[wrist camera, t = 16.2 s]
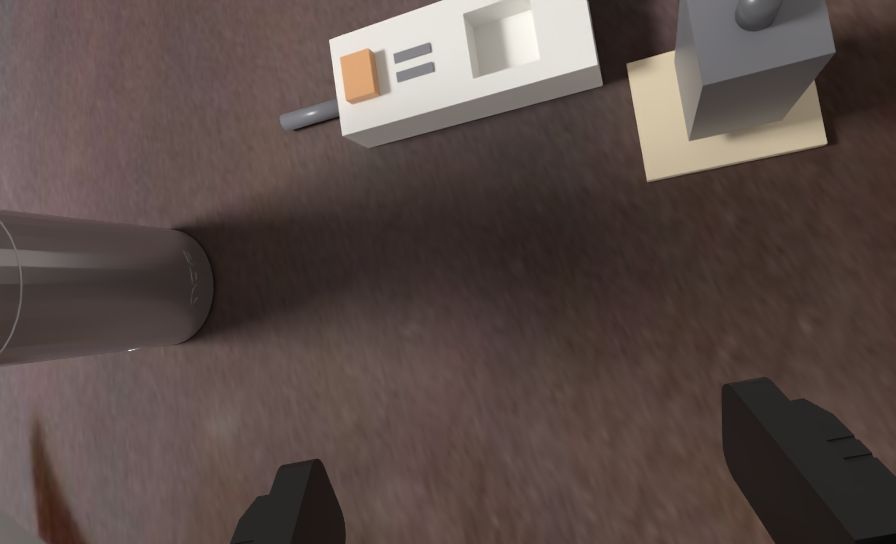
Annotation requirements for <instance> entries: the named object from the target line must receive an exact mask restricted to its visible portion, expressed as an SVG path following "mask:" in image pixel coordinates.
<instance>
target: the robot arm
mask: <svg viewBox="0 0 896 544" xmlns="http://www.w3.org/2000/svg"><path fill="white" fill-rule="evenodd" d="M213 291H214V287H213V275H212V270H211V265H210V263H209V260H208V258H207V255H206V254H205V252H204V250H203V249H202V247H201V246H200V245H199V244H198V243H197V242H196V241H195V240H194V239H193V238H192V237H191V236H189V235H187V234H186V233H184V232H181V231H177V230H173V229H164V228H155V227H147V226H138V225H131V224H122V223H113V222H105V221H96V220H87V219H78V218H70V217H61V216H52V215H43V214H34V213H26V212H17V211H8V210H0V367H1V366H9V365H17V364H25V363H33V362H41V361H49V360H57V359H65V358H73V357H81V356H89V355H97V354H105V353H112V352H120V351H130V350H138V349H145V348H153V347H160V346H168V345H175V344H179V343H182V342H184V341H186V340H188V339H189V338H190V337H192V336H193V335H194V334H196V332H197V331H198V330H199V329H200V328H201V326H202V325H203V323H204V322H205V320H206V318H207V316H208V314H209V311H210V307H211V304H212V299H213ZM722 440H723V451H724V456H725V460H726V463H727V466H728V468H729V470H730V473H731V475H732V477H733V478H734V480H735V482H736V483H737V485H738V486H739V488H740V489H741V491H742V493H743V494H744V496H745V497H746V499H747V500H748V502H749V503H750V505H751V506H752V508H753V510H754V511H755V513H756V514H757V516H758V517H759V519H760V520H761V522H762V524H763V525H764V527H765V528H766V530H767V531H768V533H769V534H770V536H771V537H772V539H773V541H774V542H775V544H896V476H895V475H894V474H893V473H892V472H891V471H890V470H889V469H888V468H887V467H886V466H885V465H884V464H883V463H882V462H881V461H880V460H879V459H878V458H877V457H876V458H874V457H873V455H872V452H871V451H870V450H869V449H868V448H867V447H866V446H865V445H864V444H863V443H862V442H861V441H860V440H859V439H858V440H856V439H855V437H854V434H853V433H852V432H851V431H850V430H849V429H848V428H847V427H846V426H845V425H844V424H843V423H842V422H841V421H840V420H839V419H838V418H837V417H836V416H835V415H834V414H832V413H830V412H828V411H826V410H824V409H823V408H821V407H819V406H817V405H815V404H813V403H811V402H810V401H808V400H806V399H804V398H803V399H798V400H792V401H790V400H789V399H788V398H787V397H786V396H785V395H784V394H783V393H782V392H781V391H780V389H779V388H778V387H777V386H776V385H775V384H774V383H773V382H772V381H771V380H770V379H768V378H766V377H761V378H755V379H750V380H745V381H739V382H734V383H728V384H725V385H724V386H723V388H722ZM345 540H346V532H345V522H344V517H343V513H342V510H341V508H340V505H339V503H338V500H337V498H336V495H335V493H334V490H333V488H332V485H331V483H330V480H329V478H328V475H327V473H326V470H325V468H324V465H323V463H322V462H321V461H320V460H319V459H313V460H307V461H302V462H297V463H291V464H286V465H282V466H281V467H280V468H279V469H278V471H277V474H276V477H275V480H274V483H273V486H272V488H271V491H270V494H269V495H264V496H259V497H257V498H256V499H255V501H254V502H253V503H252V504H251V506H250V507H249V508H248V509H247V511H246V512H245V513H244V514H243V516H242V517H241V518H240V519H239V522H238V524H237V527H236V530H235V532H234V535H233V537H232V540H231V543H230V544H345Z"/></svg>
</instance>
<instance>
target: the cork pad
mask: <svg viewBox="0 0 896 544" xmlns="http://www.w3.org/2000/svg"><path fill="white" fill-rule="evenodd" d="M674 58H675V51H671V52H668V53H664V54H660V55H657V56H653V57H649V58H646V59H642V60H638V61H635V62H631V63H628V64H627V71H628V76H629V82H630V88H631V93H632V99H633V105H634V110H635V116H636V121H637V127H638V133H639V138H640V144H641V150H642V155H643V161H644V167H645V172H646V178H647V182H652V181H657V180H662V179H666V178H671V177H676V176H681V175H686V174H691V173H696V172H700V171H705V170H710V169H715V168H720V167H725V166H730V165H734V164H739V163H744V162H749V161H754V160H759V159H764V158H768V157H773V156H778V155H783V154H788V153H793V152H798V151H802V150H807V149H812V148H817V147H822V146H825V145H826V144H827V139H826V134H825V129H824V124H823V119H822V114H821V109H820V104H819V99H818V94H817V89H816V85H815V80H814V81H813V82H812V83H811V84H810V86H809V87H808V88H807V90H806V91H805V92H804V93H803V95H802V96H801V97H800V98H799V100H798V101H797V102H796V103H795V105H794V106H793V107H792V109H791V110H790V111H789V112H788V114H787V115H786V116H785V117H784V119H783V120H782V121H778V122H774V123H769V124H765V125H760V126H756V127H751V128H747V129H743V130H738V131H734V132H729V133H725V134H720V135H716V136H711V137H707V138H702V139H698V140H693V141H689V140H688V135H687V129H686V124H685V119H684V113H683V108H682V102H681V97H680V91H679V86H678V81H677V75H676V70H675V64H674Z"/></svg>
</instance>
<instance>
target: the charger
mask: <svg viewBox="0 0 896 544" xmlns="http://www.w3.org/2000/svg"><path fill="white" fill-rule="evenodd" d="M835 53H836V50H835V45H834V41H833V36H832V31H831V26H830V21H829V16H828V12H827V7H826V2H825V0H680V5H679V15H678V26H677V36H676V47H675V58H674V64H675V70H676V75H677V81H678V86H679V91H680V97H681V102H682V108H683V113H684V119H685V124H686V129H687V135H688V140H689V141H693V140H698V139H702V138H707V137H711V136H716V135H720V134H725V133H729V132H734V131H738V130H743V129H747V128H751V127H756V126H760V125H765V124H769V123H774V122H778V121H782V120H783V119H784V117H785V116H786V115H787V114H788V112H789V111H790V110H791V109H792V107H793V106H794V105H795V103H796V102H797V101H798V100H799V98H800V97H801V96H802V95H803V93H804V92H805V91H806V90H807V88H808V87H809V86H810V84H811V83H812V82H813V81H814V79H815V78H816V77H817V76H818V74H819V73H820V72H821V70H822V69H823V68H824V67H825V65H826V64H827V63H828V62H829V60H830V59H831V58H832V57H833V55H834V54H835Z"/></svg>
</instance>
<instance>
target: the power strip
mask: <svg viewBox="0 0 896 544" xmlns="http://www.w3.org/2000/svg"><path fill="white" fill-rule="evenodd" d="M329 42H330V49H331V57H332V64H333V71H334V78H335V86H336V93H337V98H335V99H332V100H329V101H325V102H322V103H319V104H316V105H312V106H309V107H306V108H303V109H299V110H296V111H293V112H290V113H286V114H283V115H281V116H280V123H281V126H282V127H283V129H284V130H285V131H290V130H294V129H297V128H301V127H304V126H308V125H311V124H314V123H318V122H321V121H325V120H328V119H331V118H335V117H338V116H340V122H341V130H342V136H344V137H346V138H348V139H350V140H352V141H354V142H356V143H358V144H360V145H362V146H365V147H367V148H371V147H375V146H379V145H382V144H386V143H390V142H394V141H397V140H401V139H405V138H409V137H412V136H416V135H420V134H424V133H427V132H431V131H435V130H439V129H442V128H446V127H450V126H454V125H457V124H461V123H465V122H469V121H473V120H476V119H480V118H484V117H488V116H491V115H495V114H499V113H503V112H506V111H510V110H514V109H518V108H521V107H525V106H529V105H533V104H536V103H540V102H544V101H548V100H551V99H555V98H559V97H563V96H566V95H570V94H574V93H578V92H581V91H585V90H589V89H593V88H596V87H600V86H603V82H602V76H601V71H600V65H599V59H598V53H597V47H596V42H595V36H594V30H593V24H592V19H591V13H590V7H589V1H588V0H442V1H440V2H437V3H434V4H431V5H428V6H425V7H422V8H419V9H417V10H414V11H411V12H408V13H405V14H402V15H399V16H396V17H393V18H391V19H388V20H385V21H382V22H379V23H376V24H373V25H370V26H368V27H365V28H362V29H359V30H356V31H353V32H350V33H347V34H344V35H342V36H339V37H336V38H333V39H330V40H329Z"/></svg>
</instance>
